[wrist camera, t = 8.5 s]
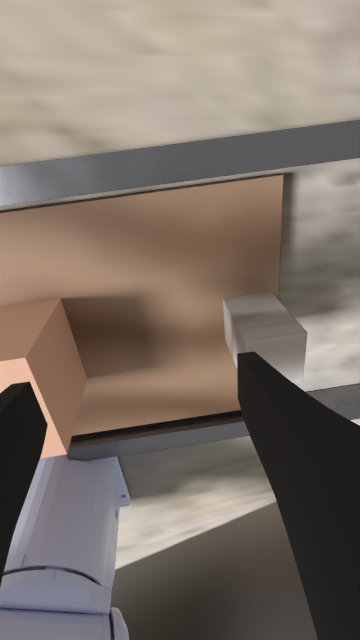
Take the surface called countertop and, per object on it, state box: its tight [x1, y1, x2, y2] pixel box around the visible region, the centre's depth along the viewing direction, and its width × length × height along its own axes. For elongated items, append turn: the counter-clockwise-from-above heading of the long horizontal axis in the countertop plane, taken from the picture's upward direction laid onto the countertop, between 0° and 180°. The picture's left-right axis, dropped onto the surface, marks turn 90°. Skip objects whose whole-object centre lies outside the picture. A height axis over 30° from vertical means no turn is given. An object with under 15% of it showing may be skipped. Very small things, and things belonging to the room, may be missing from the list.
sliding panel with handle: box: [0, 174, 307, 436], centre depth 18 cm, size 16×24×6 cm, turn 97°
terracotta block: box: [0, 298, 87, 458], centre depth 17 cm, size 6×6×6 cm
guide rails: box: [0, 120, 360, 462], centre depth 20 cm, size 20×26×2 cm
